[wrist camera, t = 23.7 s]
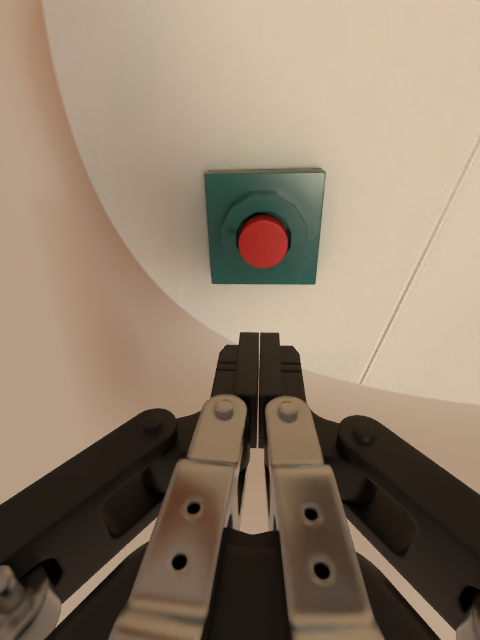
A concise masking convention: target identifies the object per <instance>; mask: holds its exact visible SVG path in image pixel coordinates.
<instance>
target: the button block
mask: <svg viewBox="0 0 480 640" xmlns="http://www.w3.org/2000/svg"><path fill="white" fill-rule="evenodd" d="M325 175H326V172H325V171H324V170H322V169H321V168H316V169H260V170H209V171H208V172H206V173H205V174H204V178H205V193H206V207H207V221H208V235H209V249H210V264H211V278H212V284H315V282H316V271H317V261H318V250H319V239H320V228H321V218H322V207H323V196H324V185H325ZM258 215H270V216H273V217H275V218H276V219H278V220H279V221H280V222H281V223H282V224H283V226H284V227H285V229H286V233H287V238H288V249H287V252H286V255H285V256H284V258H283V259H282V260H281V261H280V262H279V263H278V264H276V265H275V266H272V267H269V268H257V267H254V266H252V265H250V264H248V263H247V262H246V261H245V260H244V259H243V257H242V256H241V254H240V251H239V238H240V233H241V230H242V228H243V226H244V225H245V223H246V222H247V221H248V220H250V219H251V218H253V217H255V216H258Z"/></svg>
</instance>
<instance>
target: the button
mask: <svg viewBox="0 0 480 640" xmlns="http://www.w3.org/2000/svg"><path fill="white" fill-rule="evenodd" d="M287 249H288V238H287V233H286V229H285V227H284V226H283V224H282V223H281V222H280V221H279V220H278V219H276V218H275V217H273V216H270V215H258V216H255V217H253V218H251V219H250V220H248V221H247V222H246V223H245V225H244V226H243V228H242V230H241V233H240V238H239V251H240V254H241V256H242V257H243V259H244V260H245V261H246V262H247V263H248V264H250V265H252V266H254V267H257V268H269V267H272V266H275V265H276V264H278V263H279V262H280V261H281V260H282V259H283V258H284V256H285V255H286V252H287Z"/></svg>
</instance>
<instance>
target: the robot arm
mask: <svg viewBox="0 0 480 640" xmlns="http://www.w3.org/2000/svg"><path fill="white" fill-rule="evenodd" d="M258 374H259V375H258ZM258 378H259V442H258V443H259V448H264V476H265V489H266V501H267V514H268V528H269V532H264V533H260V534H255V535H251V534H247V533H244V532H241V531H240V522H241V516H242V508H243V500H244V494H245V487H246V479H247V472H248V463H249V460H250V448H256V446H257V444H256V443H257V411H258ZM156 517H157V520H156V523H155V526H154V529H153V532H152V534H151V537H150V540H149V542H147V543H145V544H144V545H142V546H140V547H139V548H137V549H136V550H135V551H134V552H132V553H131V554H130V555H129V556H128V557H126V558H125V559H124V560H123V561H122V562H121V563H120V564H119V565H118V566H117V567H116V568H115V570H113V571H112V572H111V573H110V574H109V575H108V576H107V577H106V578H105V579H104V580H103V581H102V582H101V583H100V584H99V585H98V586H97V587H96V588H95V589H94V590H93V591H92V592H91V593H90V594H89V595H88V596H87V597H86V598H85V599H84V600H83V601H82V602H81V603H80V604H79V605H78V606H77V607H76V608H75V609H74V610H73V611H72V612H71V613H70V614H69V615H68V616H67V617H66V618H65V619H64V620H63V621H62V622H61V623H60V624H59V625H58V626H57V627H56V624H57V622H58V619H59V616H60V612H61V605H62V603H64V602H65V601H66V600H67V599H68V598H69V597H70V596H71V595H72V594H73V593H75V592H76V591H77V590H78V589H79V588H80V587H81V586H82V585H83V584H84V583H86V582H87V581H88V580H89V579H90V578H91V577H92V576H93V575H94V574H95V573H96V572H97V571H99V570H100V569H101V568H102V567H103V566H104V565H105V564H106V563H107V562H108V561H110V560H111V559H112V558H113V557H114V556H115V555H116V554H117V553H118V552H119V551H120V550H121V549H122V548H124V547H125V546H126V545H127V544H128V543H129V542H130V541H131V540H132V539H134V538H135V537H136V536H137V535H138V534H139V533H140V532H141V531H142V530H143V529H144V528H146V527H147V526H148V525H149V524H150V523H151V522H152V521H153V520H154V519H155V518H156ZM346 518H347V519H348V520H349V521H350V522H351V523H352V524H353V525H354V526H355V527H356V528H357V529H358V530H359V531H360V532H361V533H362V535H363V536H364V537H365V538H366V539H367V540H368V541H369V542H370V543H371V544H372V545H373V546H374V547H375V548H376V549H377V550H378V551H379V552H380V553H381V554H382V555H383V556H384V557H385V558H386V559H387V560H388V562H389V563H390V564H391V565H392V566H393V567H394V568H395V569H396V570H397V571H398V572H399V573H400V574H401V575H402V576H403V577H404V578H405V579H406V580H407V581H408V582H409V583H410V584H411V585H412V586H413V587H414V589H415V590H416V591H417V592H418V593H419V594H420V595H421V596H422V597H423V598H424V599H425V600H426V601H427V602H428V603H429V604H430V605H431V606H432V607H433V608H434V609H435V610H436V611H437V612H438V613H439V615H440V616H441V617H443V618H444V620H445V621H446V622H447V623H448V624H449V625H450V626H451V627H452V628H453V629H454V630H455V631H456V640H480V495H479V494H478V493H476V492H475V491H474V490H472V489H471V488H469V487H468V486H467V485H465V484H464V483H463V482H461V481H460V480H458V479H457V478H456V477H454V476H453V475H451V474H450V473H449V472H447V471H446V470H445V469H443V468H442V467H440V466H439V465H438V464H436V463H435V462H433V461H432V460H430V459H429V458H428V457H426V456H425V455H424V454H422V453H421V452H420V451H418V450H417V449H415V448H414V447H412V446H411V445H410V444H408V443H407V442H405V441H404V440H403V439H401V438H400V437H399V436H397V435H396V434H395V433H393V432H392V431H390V430H389V429H388V428H386V427H385V426H383V425H382V424H381V423H379V422H378V421H376V420H374V419H372V418H369V417H366V416H360V415H355V416H349V417H347V418H345V419H343V420H342V421H341V422H340V423H336V422H332V421H329V420H326V419H323V418H321V417H319V416H318V415H316V414H315V413H313V412H312V411H311V410H310V408H309V406H308V405H307V403H306V397H305V390H304V383H303V376H302V369H301V362H300V355H299V353H298V352H297V351H296V349H295V348H294V347H293V346H280V340H279V333H260V368H259V333H250V332H240V338H239V345H226V346H225V347H224V349H222V350H221V352H220V353H219V358H218V363H217V368H216V373H215V378H214V383H213V388H212V393H211V398H210V399H209V400H207V401H206V402H205V404H204V405H203V407H202V410H201V411H199V412H197V413H195V414H193V415H189V416H185V417H181V418H177V419H176V418H175V416H174V415H173V414H172V413H171V412H169V411H168V410H165V409H160V408H156V409H150V410H146V411H144V412H142V413H140V414H138V415H137V416H135V417H134V418H132V419H131V420H129V421H128V422H126V423H125V424H123V425H121V426H120V427H118V428H117V429H115V430H114V431H112V432H111V433H109V434H108V435H106V436H105V437H103V438H102V439H100V440H99V441H97V442H96V443H94V444H93V445H91V446H90V447H88V448H86V449H85V450H83V451H82V452H80V453H79V454H77V455H76V456H74V457H73V458H71V459H70V460H68V461H67V462H65V463H63V464H62V465H61V466H59V467H57V468H56V469H54V470H53V471H51V472H50V473H48V474H47V475H45V476H44V477H42V478H41V479H39V480H38V481H36V482H35V483H33V484H31V485H30V486H28V487H27V488H25V489H24V490H22V491H21V492H19V493H18V494H16V495H15V496H13V497H12V498H10V499H9V500H7V501H6V502H4V503H3V504H1V505H0V640H441V639H440V638H439V637H438V636H437V635H436V634H435V632H434V631H433V630H432V629H431V628H430V627H429V626H428V625H427V623H426V622H425V621H424V620H423V619H422V618H421V616H420V615H419V614H418V613H417V612H416V611H415V610H414V609H413V607H412V606H411V605H410V604H409V603H408V602H407V601H406V599H405V598H404V597H403V596H402V595H401V594H400V593H399V591H398V590H397V589H396V588H395V587H394V586H393V585H392V583H391V582H390V581H389V580H388V579H387V578H386V577H385V576H384V575H383V573H382V572H381V571H380V570H379V569H378V568H377V567H375V566H374V565H373V564H372V563H371V562H370V561H368V560H367V559H366V558H365V557H363V556H362V555H360V554H359V553H357V552H356V551H355V548H354V545H353V541H352V538H351V534H350V530H349V527H348V523H347V519H346ZM55 627H56V628H55Z"/></svg>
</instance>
